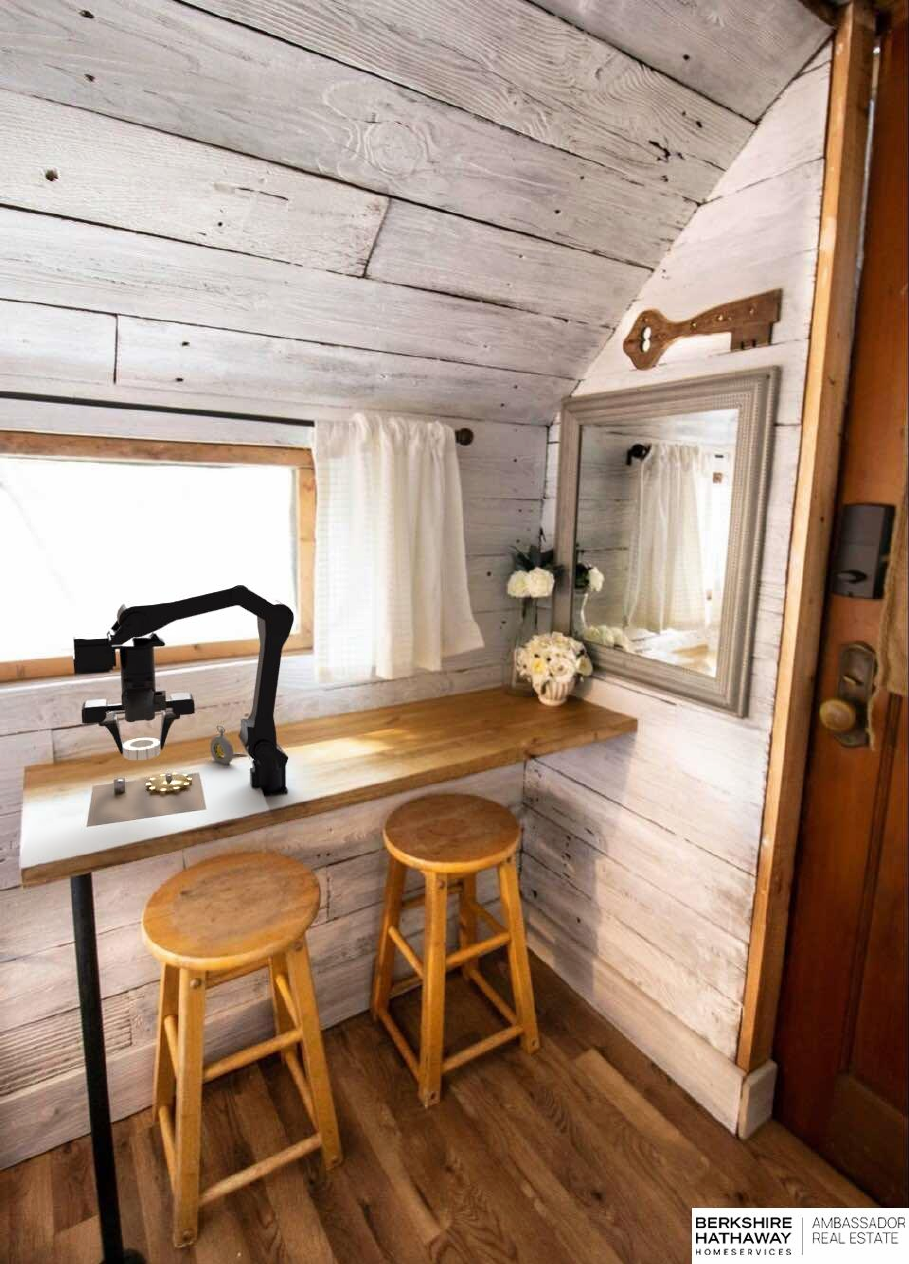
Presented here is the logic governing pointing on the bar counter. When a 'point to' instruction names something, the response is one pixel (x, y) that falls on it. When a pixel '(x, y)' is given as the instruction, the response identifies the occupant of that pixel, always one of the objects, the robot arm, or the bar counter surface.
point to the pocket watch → (223, 749)
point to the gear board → (142, 802)
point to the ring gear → (141, 749)
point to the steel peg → (119, 786)
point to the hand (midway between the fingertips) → (141, 751)
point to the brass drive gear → (168, 783)
